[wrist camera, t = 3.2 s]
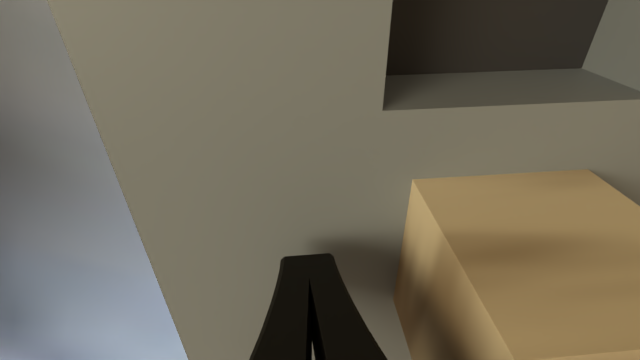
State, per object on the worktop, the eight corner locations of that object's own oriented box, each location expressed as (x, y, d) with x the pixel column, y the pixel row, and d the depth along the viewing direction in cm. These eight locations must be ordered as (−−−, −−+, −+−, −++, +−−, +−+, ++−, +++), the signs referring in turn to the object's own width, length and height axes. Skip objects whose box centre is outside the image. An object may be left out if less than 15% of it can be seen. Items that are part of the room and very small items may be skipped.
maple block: (530, 288, 12) (654, 457, 8) (393, 299, 12) (450, 481, 8) (588, 169, 10) (815, 332, 6) (412, 179, 9) (515, 361, 5)
